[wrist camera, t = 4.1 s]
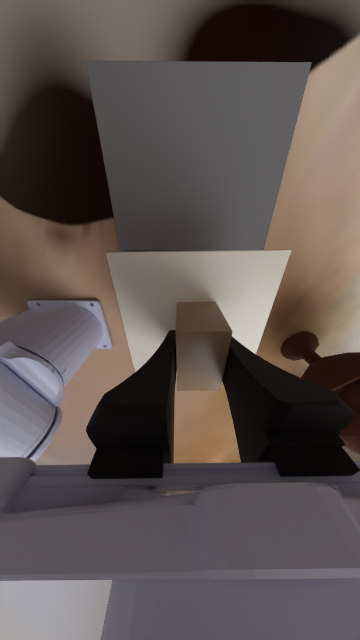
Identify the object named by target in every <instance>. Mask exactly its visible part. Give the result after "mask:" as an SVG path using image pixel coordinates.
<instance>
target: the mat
mask: <svg viewBox="0 0 360 640" xmlns="http://www.w3.org/2000/svg"><path fill="white" fill-rule="evenodd" d="M86 66H87V71H88V77H89V82H90V88H91V93H92V99H93V104H94V110H95V115H96V120H97V126H98V131H99V137H100V142H101V148H102V153H103V159H104V164H105V170H106V175H107V181H108V186H109V191H110V197H111V203H112V208H113V214H114V219H115V225H116V230H117V236H118V241H119V247H120V250H263V249H264V245H265V242H266V238H267V234H268V230H269V226H270V222H271V218H272V214H273V210H274V207H275V203H276V199H277V195H278V191H279V187H280V183H281V179H282V176H283V172H284V168H285V164H286V160H287V156H288V152H289V148H290V145H291V141H292V137H293V133H294V129H295V125H296V121H297V117H298V113H299V110H300V106H301V102H302V98H303V94H304V90H305V86H306V82H307V79H308V75H309V71H310V67H311V62H188V61H86Z"/></svg>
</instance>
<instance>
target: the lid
mask: <svg viewBox="0 0 360 640" xmlns="http://www.w3.org/2000/svg"><path fill="white" fill-rule="evenodd" d="M290 253H291V250H219V251H145V252H107V253H106V256H107V260H108V264H109V268H110V272H111V276H112V280H113V284H114V288H115V292H116V296H117V300H118V304H119V308H120V312H121V316H122V320H123V324H124V328H125V332H126V336H127V340H128V344H129V348H130V352H131V356H132V360H133V364H134V368H135V372H136V371H137V370H139V369H140V368H141V367H142V366H143V365H144V364H145V363H146V362H147V361H148V360H149V359H150V358H151V356H152V355H153V354H154V353H155V352H156V350H157V349H158V348H159V346H160V345H161V343H162V342H163V340H164V339H165V337H166V335H167V333H168V331H169V330H176V360H177V373H176V376H177V390H178V391H181V390H220V389H221V384H222V379H223V375H224V370H225V365H226V360H227V356H228V351H229V346H230V341H231V337H233V338H235V339H236V340H237V341H238V342H240V343H241V344H242V345H243V346H245V347H246V348H247V349H249V350H250V351H252V352H253V353H254V354H256V352H257V349H258V346H259V343H260V340H261V338H262V335H263V332H264V329H265V326H266V323H267V320H268V317H269V314H270V311H271V309H272V306H273V303H274V300H275V297H276V294H277V291H278V288H279V285H280V282H281V279H282V277H283V274H284V271H285V268H286V265H287V262H288V259H289V256H290Z"/></svg>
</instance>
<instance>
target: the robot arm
mask: <svg viewBox="0 0 360 640" xmlns="http://www.w3.org/2000/svg"><path fill="white" fill-rule="evenodd" d="M91 303H93V305H92V304H91ZM27 305H28V307H29V308H30V309H28V310H26V311H24V312H22V313H19V314H17V315H15V316H13V317H11V318H8V319H6V320H4V321H2V322H0V581H11V580H12V581H14V580H15V581H17V580H18V581H20V580H112V585H111V590H110V595H109V600H108V605H107V610H106V615H105V621H104V626H103V631H102V636H101V640H360V461H353V460H352V459H351V458H350V456H349V455H348V454H347V453H346V451H345V450H344V449H343V447H342V446H345V443H344V441H343V440H342V439H341V438H340V437H339V435H338V434H339V433H340V432H341V431H342V430H343V429H344V428H346V427H347V426H348V425H349V424H350V423H351V421H352V420H353V417H354V412H353V410H352V409H351V408H350V407H349V406H348V405H347V404H346V403H345V402H344V401H343V400H342V399H341V398H340V397H339V396H338V395H337V394H336V393H335V392H334V391H332V390H329V389H327V388H324V387H321V386H319V385H316V384H314V383H311V382H308V381H306V380H304V379H302V378H299V377H297V376H295V375H292V374H290V373H288V372H286V371H284V370H282V369H280V368H278V367H276V366H275V365H273V364H271V363H269V362H267V361H266V360H264V359H262V358H261V357H259V356H258V355H256V354H254V353H253V352H252V351H250V350H249V349H247V348H246V347H245V346H243V345H242V344H241V343H240V342H238V341H237V340H236V339H235V338H233V337H231V341H230V346H229V351H228V356H227V360H226V365H225V370H224V375H223V379H222V381H223V384H224V387H225V390H226V393H227V398H228V402H229V406H230V410H231V415H232V419H233V424H234V428H235V433H236V438H237V443H238V449H239V454H240V459H241V463H176V464H173V457H174V395H175V382H176V373H177V360H176V330H169V331H168V333H167V335H166V337H165V339H164V340H163V342H162V343H161V345H160V346H159V348H158V349H157V350H156V352H155V353H154V354H153V355H152V356H151V358H150V359H149V360H148V361H147V362H146V363H145V364H144V365H143V366H142V367H141V368H140V369H139V370H137V371H136V372H135V373H134V374H133V375H131V376H130V377H129V378H128V379H126V380H125V381H124V382H122V383H121V384H119V385H118V386H116V387H115V388H113V389H112V390H110V391H109V392H107V393H105V394H104V396H103V397H102V399H101V400H100V402H99V404H98V405H97V407H96V409H95V411H94V413H93V415H92V417H91V419H90V421H89V423H88V425H87V428H86V432H87V434H88V437H89V438H90V440H91V441H92V443H93V444H94V446H95V447H96V452H95V454H94V457H93V459H92V462H91V464H90V465H36V463H35V461H36V460H37V459H38V458H39V457H40V456H41V454H42V453H43V452H44V451H45V449H46V448H47V447H48V445H49V444H50V442H51V441H52V439H53V437H54V436H55V434H56V432H57V430H58V428H59V425H60V423H61V419H62V411H61V409H60V408H59V405H60V403H61V402H62V401H63V399H64V398H65V396H66V395H65V393H64V392H63V388H64V387H65V386H66V385H67V383H68V382H69V381H70V380H71V378H72V377H73V376H74V374H75V373H76V372H77V371H78V369H79V368H80V367H81V366H82V364H83V363H84V362H85V360H86V359H87V358H88V357H89V355H90V354H91V353H92V352H93V350H94V349H110V348H111V347H112V342H111V338H110V335H109V331H108V328H107V325H106V321H105V318H104V314H103V311H102V307H101V304H100V302H99V301H97V300H30V301H28V302H27ZM105 345H106V346H105ZM198 490H199V491H201V492H194V493H185V494H177V495H168V496H160V493H159V491H198Z"/></svg>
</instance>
